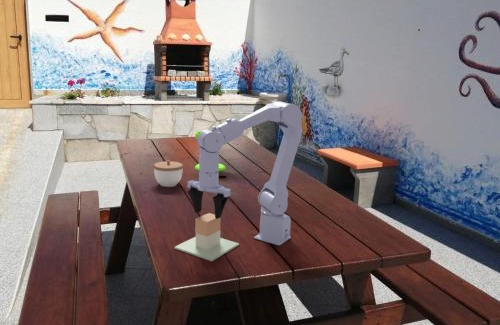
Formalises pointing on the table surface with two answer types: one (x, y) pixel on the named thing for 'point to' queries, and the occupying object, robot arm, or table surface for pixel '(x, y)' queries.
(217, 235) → the cream brick
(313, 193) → the table surface
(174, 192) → the table surface
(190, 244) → the baseplate
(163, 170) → the lidded bowl
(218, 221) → the tan brick
